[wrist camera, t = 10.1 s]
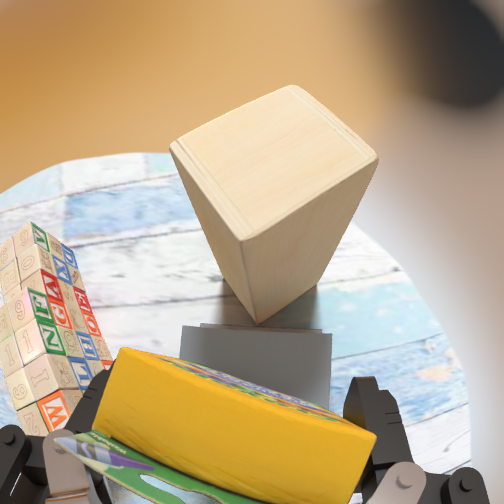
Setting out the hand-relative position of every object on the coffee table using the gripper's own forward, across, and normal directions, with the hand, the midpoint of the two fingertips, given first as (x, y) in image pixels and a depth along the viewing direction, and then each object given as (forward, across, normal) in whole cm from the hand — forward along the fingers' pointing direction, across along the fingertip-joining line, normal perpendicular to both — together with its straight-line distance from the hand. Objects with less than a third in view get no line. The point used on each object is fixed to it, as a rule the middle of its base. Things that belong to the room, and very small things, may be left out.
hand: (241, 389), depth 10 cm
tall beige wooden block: (+22, 0, +7) cm, 23 cm away
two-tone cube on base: (+14, 0, +15) cm, 21 cm away
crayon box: (+4, 0, +6) cm, 7 cm away
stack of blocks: (+16, +21, +14) cm, 30 cm away
